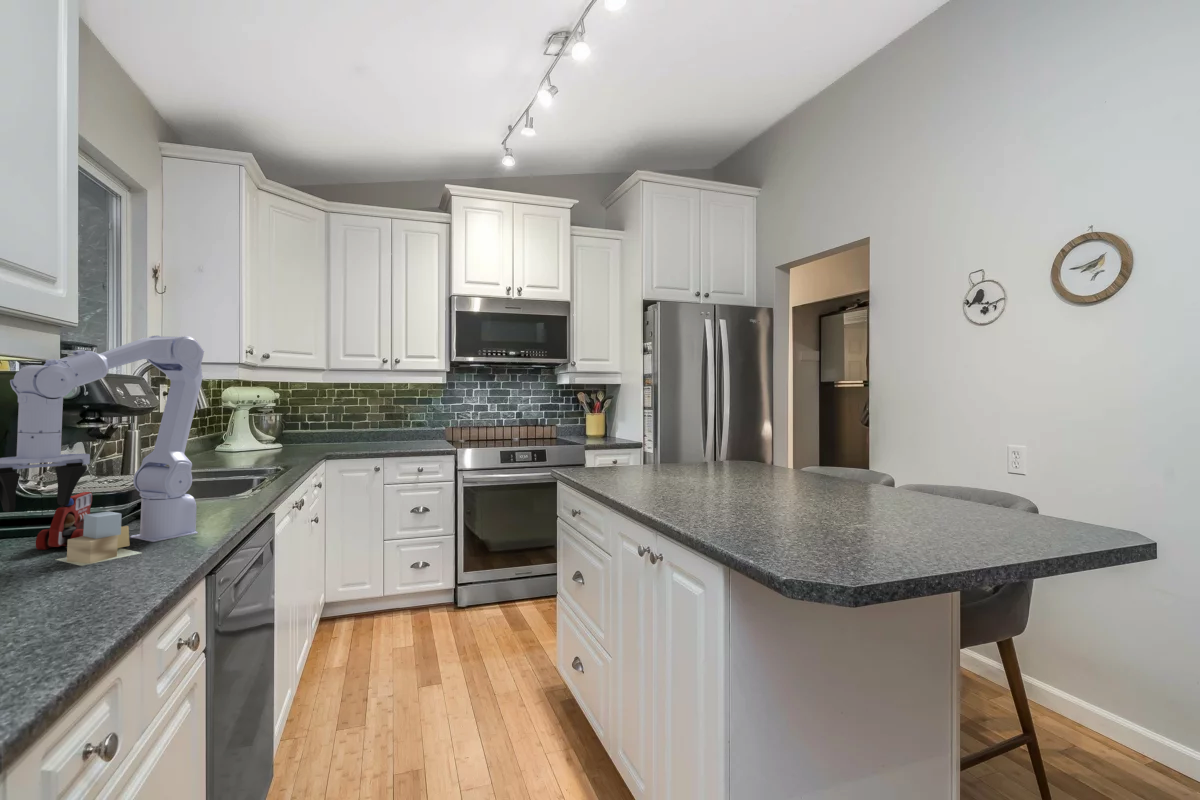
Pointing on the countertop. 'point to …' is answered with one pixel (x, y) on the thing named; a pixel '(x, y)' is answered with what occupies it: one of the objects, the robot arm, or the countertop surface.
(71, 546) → the maple block
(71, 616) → the countertop surface
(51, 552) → the countertop surface
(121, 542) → the ochre block
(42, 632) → the countertop surface
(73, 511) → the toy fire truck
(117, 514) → the blue block
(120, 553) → the plate
